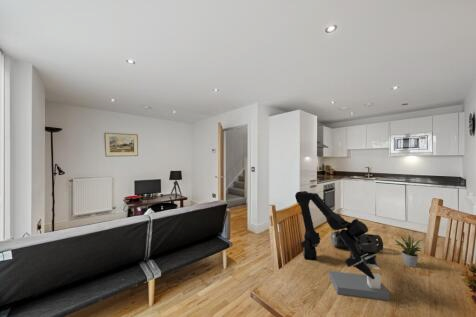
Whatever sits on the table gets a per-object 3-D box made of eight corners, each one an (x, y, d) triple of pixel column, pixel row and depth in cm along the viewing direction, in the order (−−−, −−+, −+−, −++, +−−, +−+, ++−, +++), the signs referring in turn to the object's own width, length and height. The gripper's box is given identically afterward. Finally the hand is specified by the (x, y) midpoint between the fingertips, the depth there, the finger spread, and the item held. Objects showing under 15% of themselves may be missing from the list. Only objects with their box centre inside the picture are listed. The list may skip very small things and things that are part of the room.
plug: (371, 293, 80) (371, 268, 80) (366, 288, 84) (366, 263, 84) (380, 295, 79) (380, 269, 80) (375, 289, 83) (375, 264, 83)
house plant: (414, 258, 110) (414, 230, 110) (437, 272, 96) (437, 241, 97) (388, 257, 112) (388, 229, 112) (407, 270, 98) (407, 239, 98)
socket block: (337, 294, 81) (337, 287, 81) (329, 276, 92) (329, 270, 92) (389, 300, 77) (389, 293, 77) (373, 281, 89) (373, 275, 89)
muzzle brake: (383, 254, 115) (383, 238, 115) (334, 250, 120) (334, 234, 120) (375, 247, 124) (375, 232, 124) (330, 243, 130) (330, 229, 130)
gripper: (352, 238, 81) (381, 277, 71) (374, 230, 90) (402, 264, 80) (335, 248, 87) (360, 286, 78) (357, 240, 97) (381, 273, 87)
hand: (377, 277), depth 80 cm, fingers closed on plug, 5 cm apart
